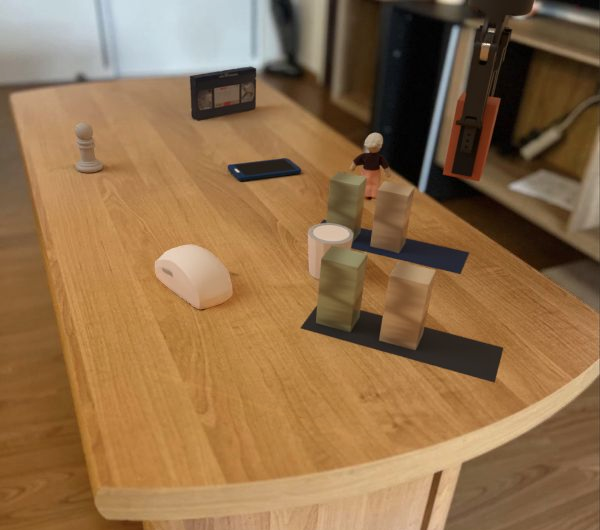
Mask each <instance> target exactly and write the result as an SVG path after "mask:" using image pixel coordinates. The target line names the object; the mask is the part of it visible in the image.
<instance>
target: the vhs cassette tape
mask: <svg viewBox="0 0 600 530" xmlns="http://www.w3.org/2000/svg"><path fill="white" fill-rule="evenodd" d="M256 78H257V67H254V66H243V67H236V68H231V69H224V70H218V71H211V72H205V73H200V74H199V73H198V74H194V75H189V86H190V88H189V90H190V109H191V111H190V114H191V118H192V119H193V120H196V121H203V120H208V119H213V118H217V117H218V118H219V117H223V116H228V115H234V114H239V113H243V112H247V111H252V110H256V108H257V79H256Z"/></svg>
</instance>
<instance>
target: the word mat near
mask: <svg viewBox="0 0 600 530" xmlns="http://www.w3.org/2000/svg"><path fill="white" fill-rule="evenodd" d="M316 316H317V305H316V306H315V307H314V308H313V310H312V311H311V312H310V314H309V315H308V316H307V318H306V319H305V321H303V323H302V325H301V326H300V330H304V331H308V332H312V333H316V334H319V335H322V336H326V337H329V338H332V339H337V340H341V341H344V342H347V343H351V344H355V345H358V346H361V347H365V348H369V349H373V350H376V351H379V352H383V353H387V354H390V355H394V356H398V357H402V358H405V359H409V360H412V361H415V362H419V363H423V364H426V365H430V366H434V367H437V368H440V369H444V370H448V371H451V372H455V373H458V374H462V375H465V376H466V375H467V376H469V377H473V378H477V379H481V380H484V381H487V382H492V383H493V384H495V383H496V379H497V375H498V371H499V367H500V364H501V363H500V362H501V359H502V355H503V351H504V347H503V346H499V345H495V344H491V343H488V342H484V341H480V340H476V339H472V338H468V337H466V336H461V335H458V334H454V333H450V332H445V331H441V330H438V329H435V328H431V327H427V326H424V331H423V335H422V337H421V340H420V342H419V344H418V346H417V349H416V350H412V349H408V348H405V347H401V346H397V345H394V344H390V343H386V342H383V341H379V338H380V331H381V325H382V319H383V314H382V315H381V314H378V313H375V312H370V311H366V310H362V309H360V317H359V319H358V321H357V322H356V324H355V326H354V327H353V329H352V331H351V332H347V331H343V330H339V329H336V328H332V327H328V326H325V325H321V324H318V323H316Z"/></svg>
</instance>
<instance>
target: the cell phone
mask: <svg viewBox="0 0 600 530" xmlns="http://www.w3.org/2000/svg"><path fill="white" fill-rule="evenodd" d="M227 170H228V171H229V172H230V173H231V174H232V175H233V176H234V177H235V178H236V179H237V180H238V181H240V182H244V181H252V180H261V179H269V178H276V177H277V178H278V177H284V176H291V175H299V174H301V173H302V169H301V167H300V166H298V165H297V164H296V163H295V162H294V161H292V160H291V159H289V158H287V157H282V158H274V159H266V160H257V161H249V162H240V163H239V162H238V163H231V164H228V165H227Z"/></svg>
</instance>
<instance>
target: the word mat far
mask: <svg viewBox="0 0 600 530" xmlns="http://www.w3.org/2000/svg"><path fill="white" fill-rule="evenodd" d="M321 223H326V219H323V220H321V222H319V224H321ZM371 236H372V229H368V228H364V227H361V230H360V234H359V235H358V236H357V238H356V239H355V240H354V242H352V245H351V250H355V251H359V252H363V253H369V254H374V255H377V256H382V257H384V258H389V259H394V260H398V261H401V262H406V263H410V264H414V265H418V266H423V267H427V268H431V269H435V270H436V269H437V270H440V271H444V272H450V273H454V274H458V275H461V274H462V271H463V269H464V267H465V264H466V261H467V259H468V257H469V254H470V252H469V251H465V250H460V249H457V248H451V247H448V246H442V245H438V244H435V243H430V242H426V241H421V240H416V239H412V238H407V237H406V242H405V244H404V246H403V248H402V249H401V251H400V252H399V253H396V252H392V251H388V250H383V249H379V248H375V247H370V244H371ZM306 239H308V236H307V237H306Z"/></svg>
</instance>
